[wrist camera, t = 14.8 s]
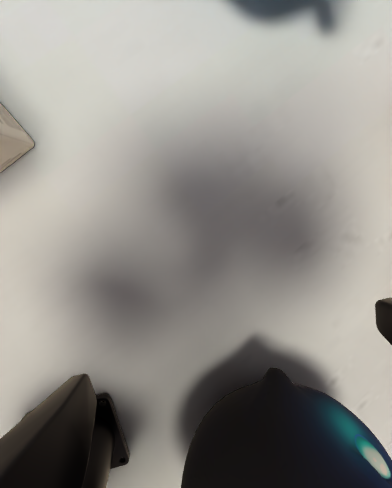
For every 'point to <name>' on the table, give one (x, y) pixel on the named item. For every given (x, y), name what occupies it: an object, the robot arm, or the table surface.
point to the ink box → (12, 140)
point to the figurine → (284, 442)
